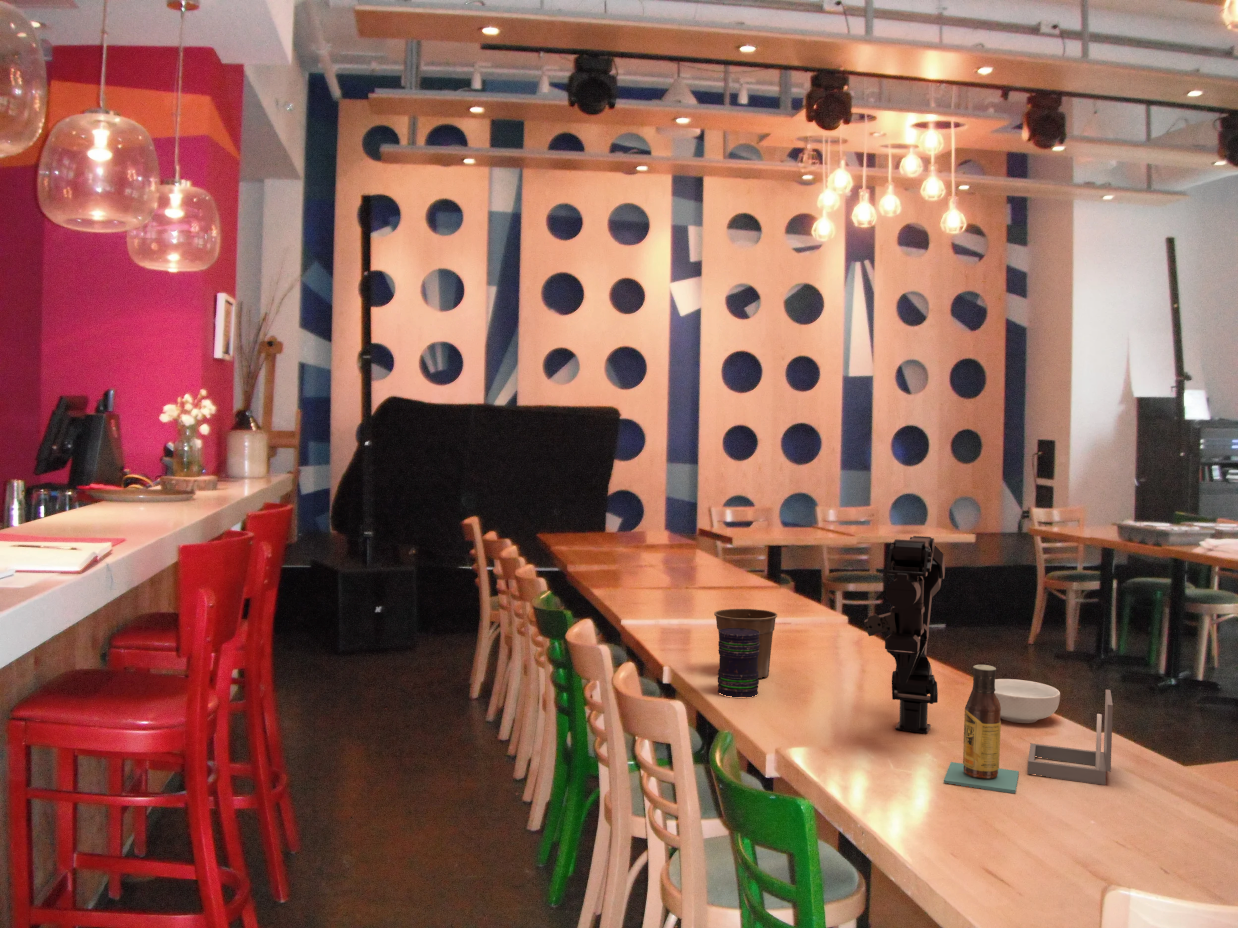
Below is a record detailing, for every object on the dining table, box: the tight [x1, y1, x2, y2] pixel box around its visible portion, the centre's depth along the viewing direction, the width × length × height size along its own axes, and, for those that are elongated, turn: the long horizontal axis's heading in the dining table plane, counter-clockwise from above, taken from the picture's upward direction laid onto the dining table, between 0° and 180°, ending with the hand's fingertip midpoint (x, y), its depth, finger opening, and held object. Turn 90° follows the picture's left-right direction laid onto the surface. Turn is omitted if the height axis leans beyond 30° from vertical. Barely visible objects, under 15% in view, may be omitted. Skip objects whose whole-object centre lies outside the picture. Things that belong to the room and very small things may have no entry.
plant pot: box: [714, 608, 778, 679], centre depth 271 cm, size 16×16×16 cm
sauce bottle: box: [962, 664, 1002, 779], centre depth 189 cm, size 6×6×20 cm
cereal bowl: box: [994, 678, 1061, 724], centre depth 233 cm, size 17×17×7 cm
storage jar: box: [717, 628, 760, 698], centre depth 251 cm, size 10×10×15 cm
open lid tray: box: [1027, 689, 1114, 786], centre depth 196 cm, size 13×14×14 cm
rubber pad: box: [943, 761, 1020, 794], centre depth 190 cm, size 12×12×1 cm
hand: (906, 679), depth 211 cm, fingers open, 9 cm apart
